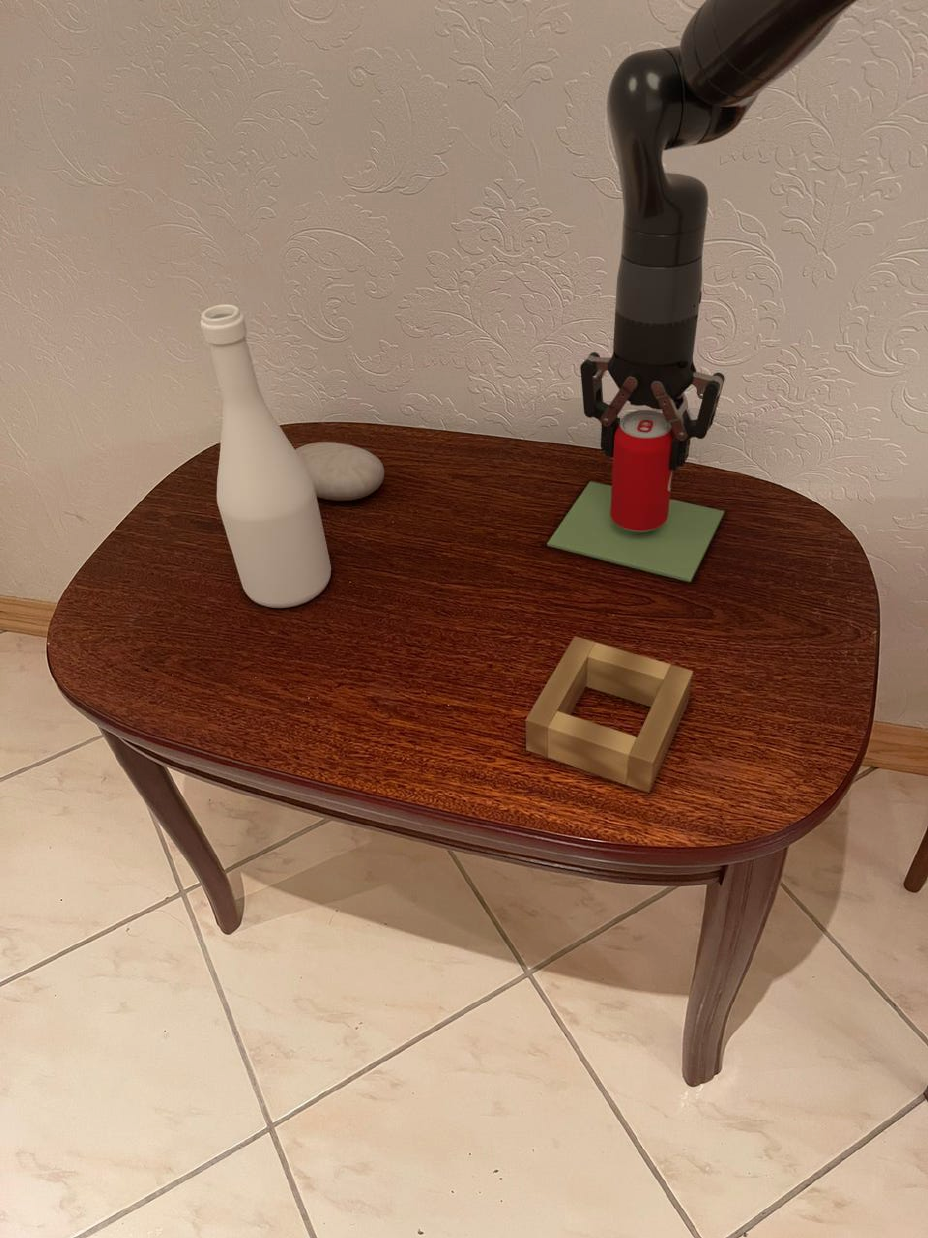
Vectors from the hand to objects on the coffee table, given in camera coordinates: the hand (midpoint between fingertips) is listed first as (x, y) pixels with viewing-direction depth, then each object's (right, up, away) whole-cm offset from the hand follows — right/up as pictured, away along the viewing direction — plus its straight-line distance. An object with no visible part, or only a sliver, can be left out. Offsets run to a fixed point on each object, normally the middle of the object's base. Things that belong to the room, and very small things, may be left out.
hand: (643, 459), depth 92 cm
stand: (-6, -26, -14) cm, 30 cm away
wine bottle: (-37, -13, +3) cm, 40 cm away
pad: (+1, -7, +6) cm, 9 cm away
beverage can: (0, -6, +5) cm, 8 cm away
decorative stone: (-34, -1, +16) cm, 38 cm away
